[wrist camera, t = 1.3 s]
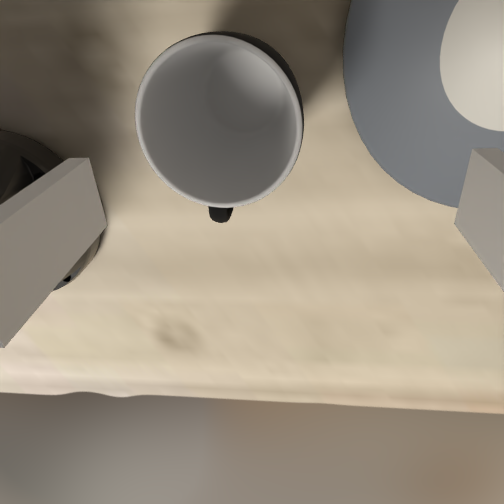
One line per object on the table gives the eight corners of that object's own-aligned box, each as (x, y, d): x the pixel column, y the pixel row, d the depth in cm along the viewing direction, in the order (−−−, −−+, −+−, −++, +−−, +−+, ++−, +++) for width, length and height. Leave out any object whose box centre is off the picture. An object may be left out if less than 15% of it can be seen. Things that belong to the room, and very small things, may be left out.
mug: (185, 15, 27) (129, 20, 19) (316, 34, 27) (320, 47, 18) (181, 180, 33) (138, 240, 25) (287, 197, 33) (279, 263, 25)
